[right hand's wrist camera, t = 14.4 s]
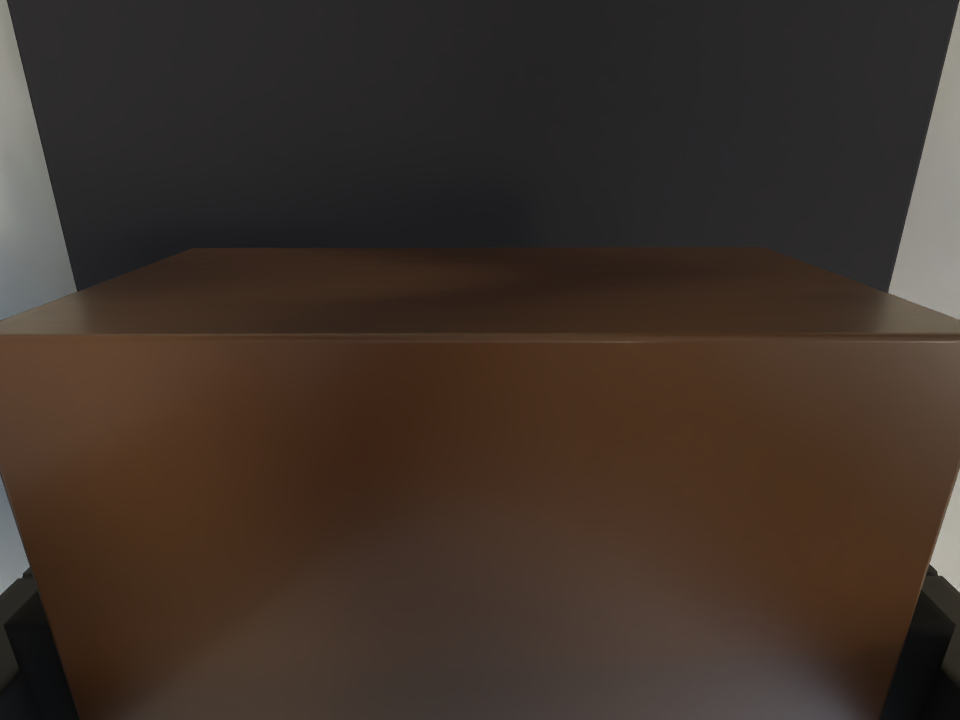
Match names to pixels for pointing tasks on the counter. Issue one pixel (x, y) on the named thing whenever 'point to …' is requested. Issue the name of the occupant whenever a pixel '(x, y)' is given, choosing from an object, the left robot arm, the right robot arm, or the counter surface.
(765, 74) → the coaster
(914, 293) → the counter surface
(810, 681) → the brown square block
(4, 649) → the right robot arm
